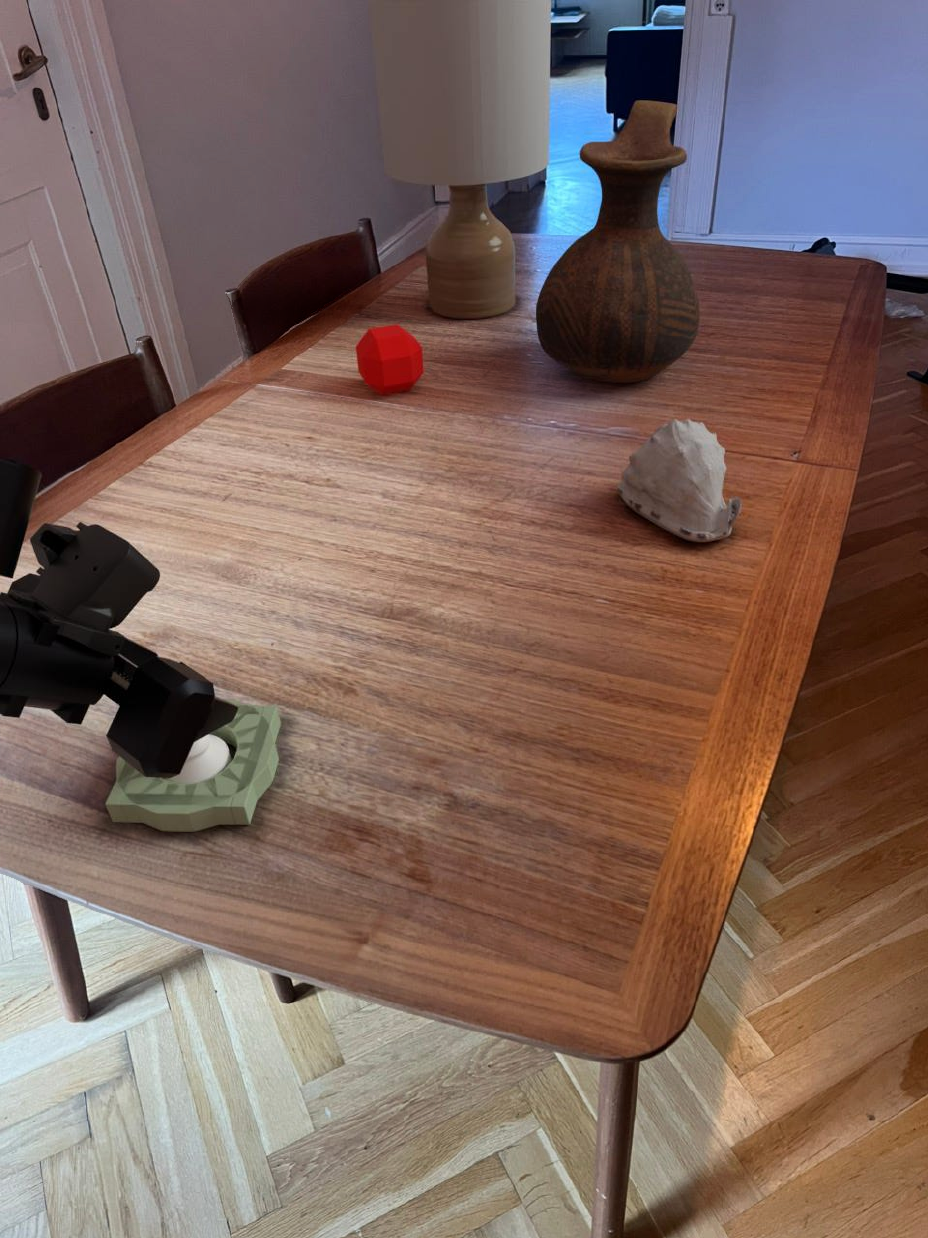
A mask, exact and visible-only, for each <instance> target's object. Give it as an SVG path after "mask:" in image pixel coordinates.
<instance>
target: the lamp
mask: <svg viewBox="0 0 928 1238" xmlns="http://www.w3.org/2000/svg"><path fill="white" fill-rule="evenodd" d="M368 7H369V19H370V20H369V21H370V29H371V40H372V51H373V60H374V72H375V73H374V74H375V82H376V83H375V84H376V94H377V104H378V105H377V107H378V117H379V126H380V136H381V148H382V158H383V168H384V169H383V170H384V173H385V175H386V176H388V177H389V178H392V179H394V180H396V181H399V182H405V183H409V184H416V185H426V186H447V187H448V188H449V195H448V197H449V198H448V199H449V207H448V209H447V213H446V215H445V216H444V218H443V220H442V221H441V222H440V223H439V224H438V225H437V226H436V227H435V228H434V230H433V231H432V233H431V234H430V235H429V237H428V239H427V241H426V247H425V263H426V264H425V265H426V274H427V278H426V279H427V292H428V299H429V300H428V301H429V307H430V309H431V310H432V311H433V312H434V313H435V314H437V315H439V316H442V317H446V318H451V319H458V320H470V319H471V320H472V319H485V318H486V319H487V318H491V317H495V316H496V317H497V316H499V315H502V314H506V313H507V312H509V311H510V310H512V309H513V308H514V306H515V305H516V303H517V298H516V297H517V294H516V292H517V290H516V289H517V288H516V286H517V281H516V265H517V262H516V259H517V257H516V255H517V254H516V253H517V252H516V246H515V242H514V239H513V235H512V233H511V231H510V229H508V227H506V225H504V223H502V221H500V220H499V219H498V218H497V217H496V216H495V215H494V213H493V212H492V211H491V210H490V207H489V201H488V193H487V191H488V189H487V186H488V184H493V183H502V182H507V181H512V180H517V179H521V178H525V177H529V176H532V175H535V174H537V173H539V172H542V171H543V170H544V169H546V168H547V167H548V166H549V164H550V107H551V106H550V105H551V104H550V102H551V101H550V100H551V99H550V98H551V37H552V36H551V34H552V33H551V32H552V31H551V29H552V28H551V27H552V23H551V22H552V0H368Z"/></svg>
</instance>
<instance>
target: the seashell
mask: <svg viewBox="0 0 928 1238" xmlns="http://www.w3.org/2000/svg"><path fill="white" fill-rule="evenodd" d="M725 453H726V449H725V448H724V447H723V446H722V445H721V444H720V443H719V442H718V435H717V433H716V432H710V431H709V430H708V428H707V427H706V425H705V423H703V422H702V421H700V422H699V421H698V422H697V421H693V420H692V421H691V419H690V418H689V417H688V418H686V419H682V420H678V419H676V418H673V419H671V420H670V421H669V422H668V423H663V424H661V425H659V426H658V427H657V428H656V429H655V430H654V431H653V432H652V434H651V435H650V437H649V438H647V439H646V440H645V441H644V443H643V444H642V445H641V446H640V448H638V449H637V450H636V451H635V452H633V453H632V454H630V455H629V457H628V459H629V464H628V466H627V467H626V468H625V469H624V470H623V471H622V472H621V478H622V480H621V482H620V483H619V484H617V485H616V491H617V494H618V495H619V496H620V498H621V499H622V501H624V503H626V505H627V506H628V507H629V508H630V509H631V510H633V511H634V512H636V513H637V514H638V515H640V516H641V517H643V518H645V519H647V520H648V521H650V522H652V523H653V524H655V525H656V526H658V527H659V528H662V529H663V530H665V531H668V532H669V533H671V534H673V535H675V536H677V537H679V538H681V539H684V540H686V541H689V542H694V543H707V542H713V541H718V540H723V539H727V538H728V537H729V536H730V535H731V534H732V531H733V524H735V522H736V520H737V519H738V517H739V514H740V512H741V510H742V501H741V497H739V496H736V497H732V498H728V500H727V503H728V504H727V503H726V502H725V500H724V496H723V488H724V483H725V482H724V481H725V476H726V472H727V466H726V464H725Z"/></svg>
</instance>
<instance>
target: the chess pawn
mask: <svg viewBox="0 0 928 1238" xmlns="http://www.w3.org/2000/svg"><path fill="white" fill-rule="evenodd" d="M232 760H233V758H232V754H231V753H230V749H229V746H228V743H225V742H224V741H223V740H222V739H220V738H219V737H216V736H214V735H209V734H208V735H206V736H204V737H203V738H201V739H199V740H197V741H196V742H194V744H193V746H192V748H191V750H190V753H189V755H188V757H187V759H186V761H185V764H184V766H183V768H182V770H181V773H180V774H179V775H177V776H174V777H172V778H163V779H164V780H167V781H169V782H172V783H174V784H193V783H197V782H201V781H204V780H208V779H210V778H212V777H213V776H215V775H217V774H218V773H220V772H222V771H223V770H224V769H225V768H226V767H227V766H228V765H229V764H230V763H231V761H232Z"/></svg>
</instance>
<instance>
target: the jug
mask: <svg viewBox="0 0 928 1238" xmlns="http://www.w3.org/2000/svg"><path fill="white" fill-rule="evenodd" d="M677 111H678V105H677V104H676V103H670V102H664V101H655V100H642V99H641V100H635V101H634V102H633V105H632V106H631V110H630V113H629V116H628V117H627V120H626V122H625V124H624V126H623V127H622V129H621V130H620V132H619V133H618V135H616V137H615V138H614V139H613V140H608V141H589V142H587V143H585V144H583V145H582V146H581V148H580V150H579V159H580V161H581V162H583V163H584V164H585V165H587V166H588V167H589V168H591V169H592V170H593V171H594V172H595V174H596V175H597V177H598V180H599V182H600V188H601V202H600V206H599V211H598V215H597V220H596V222H595V225H594V227H592V228H591V229H590V230H589V231H587V232H586V233H584V234H583V235H581V236H580V237H579V238H578V239H576V240H574V242H573V243H572V244H571V245H570V246H569V247H568V248H567V249H566V250H565V252H563V253H562V255H561V256H560V257H559V259H558V260H557V261H556V262H555V264H554V265H553V266H552V267H551V268H550V270H549V272H548V274H547V276H546V278H545V280H544V282H543V285H542V286H541V289H540V291H539V294H538V296H537V297H538V298H537V300H536V305H535V324H536V332H537V338H538V341H539V344H540V347H541V349H542V350H543V352H544V353H545V354H546V355H547V356H548V357H550V358H551V359H552V360H554V361H555V362H557V363H558V364H560V365H562V366H564V367H565V368H567V369H569V370H570V371H571V372H573V373H575V374H576V375H578V376H579V377H581V378H584V379H589V380H594V381H599V382H605V383H615V384H632V383H639V382H643V381H646V380H649V379H651V378H653V377H655V376H656V375H658V374H659V373H661V372H662V371H664V370H665V369H666V368H668V367H669V366H670V365H672V364H674V363H675V362H676V361H678V360H679V359H681V357H683V356H684V355H685V353H687V351H688V350H689V349H690V348H691V346H692V344H694V341H695V339H696V338H697V335H698V332H699V329H700V317H701V315H700V314H701V312H700V301H699V296H698V292H697V288H696V285H695V282H694V279H693V277H692V275H691V272H690V269H689V266H688V264H687V262H686V261H685V259H684V257H683V256H682V254H681V253H680V251H679V250H678V249H677V248H676V247H675V246H674V244H672V243H671V242H670V241H669V240H668V239H667V238H666V237H665V235H664V234H663V233H662V230H661V228H660V224H659V216H658V214H659V213H658V206H659V195H660V190H661V185H662V183H663V181H664V178H665V177H666V175H667V174H668V173H669V171H670V170H671V169H674V168H677V167H679V166H682V165H683V164H685V163H686V162H687V160H688V153H687V150H686V149H684V148H683V147H680V146H677V145H673V144H672V143H671V135H670V134H671V133H670V132H671V128H672V124H673V121H674V119H675V117H676V116H677Z"/></svg>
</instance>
